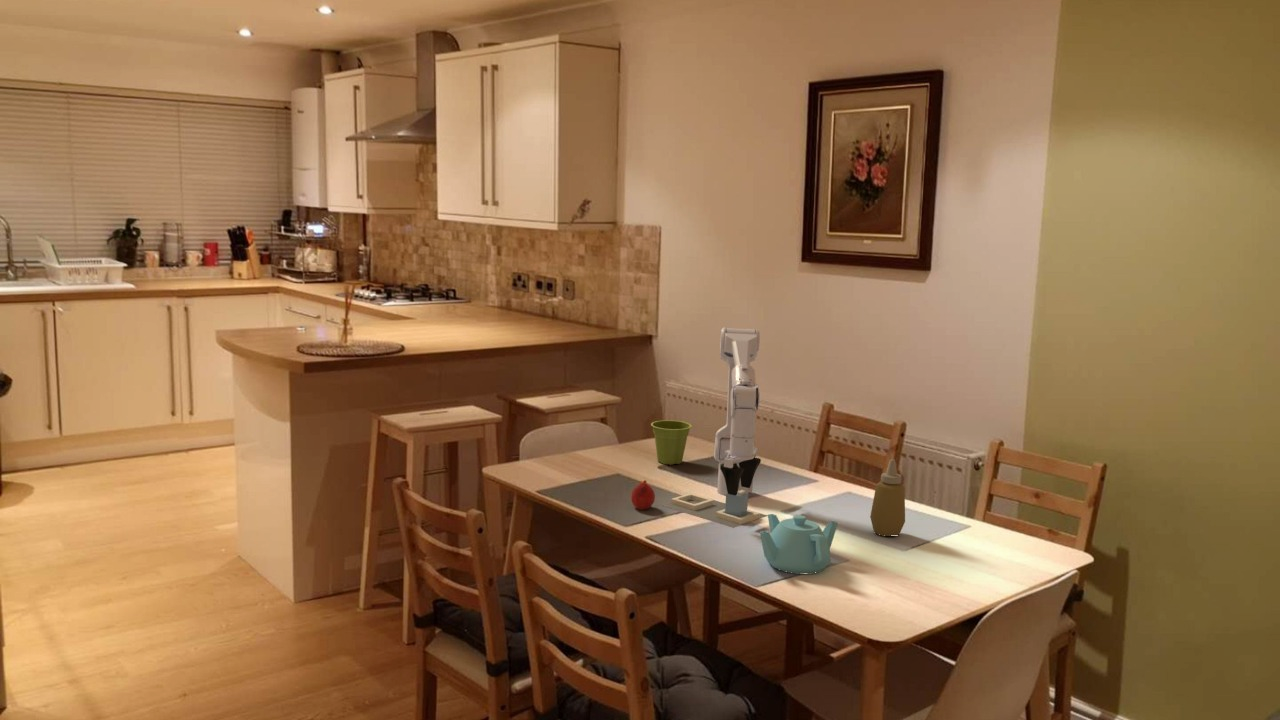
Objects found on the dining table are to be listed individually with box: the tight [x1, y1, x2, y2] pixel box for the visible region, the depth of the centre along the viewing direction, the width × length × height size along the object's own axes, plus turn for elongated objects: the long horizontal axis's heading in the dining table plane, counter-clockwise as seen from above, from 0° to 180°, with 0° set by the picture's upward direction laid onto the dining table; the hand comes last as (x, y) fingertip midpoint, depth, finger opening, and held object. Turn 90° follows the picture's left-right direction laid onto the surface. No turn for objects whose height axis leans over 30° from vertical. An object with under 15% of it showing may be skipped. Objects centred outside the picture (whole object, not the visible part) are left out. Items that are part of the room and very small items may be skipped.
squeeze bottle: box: [870, 458, 906, 537], centre depth 238 cm, size 8×8×18 cm
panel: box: [662, 492, 768, 529], centre depth 248 cm, size 14×22×2 cm, turn 48°
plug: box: [724, 490, 749, 518], centre depth 243 cm, size 4×4×7 cm
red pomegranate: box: [630, 479, 656, 511], centre depth 248 cm, size 6×6×8 cm
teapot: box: [759, 513, 839, 574], centre depth 215 cm, size 15×15×11 cm
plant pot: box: [650, 419, 692, 466], centre depth 296 cm, size 12×12×11 cm
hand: (739, 490), depth 243 cm, fingers open, 7 cm apart
